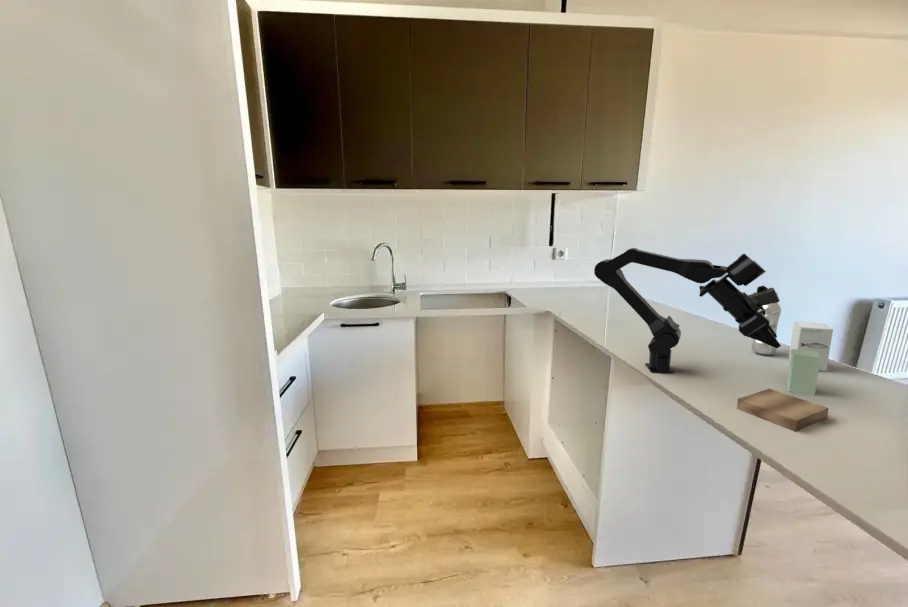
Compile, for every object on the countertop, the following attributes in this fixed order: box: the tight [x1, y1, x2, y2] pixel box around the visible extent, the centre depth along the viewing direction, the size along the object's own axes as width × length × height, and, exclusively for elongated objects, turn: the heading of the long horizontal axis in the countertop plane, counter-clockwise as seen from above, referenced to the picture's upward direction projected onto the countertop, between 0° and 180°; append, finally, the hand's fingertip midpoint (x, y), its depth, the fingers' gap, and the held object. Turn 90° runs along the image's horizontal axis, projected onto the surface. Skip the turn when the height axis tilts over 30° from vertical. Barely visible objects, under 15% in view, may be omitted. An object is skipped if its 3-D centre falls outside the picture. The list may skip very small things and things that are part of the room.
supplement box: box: [788, 320, 834, 372], centre depth 119 cm, size 7×7×13 cm
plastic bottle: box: [751, 292, 782, 356], centre depth 130 cm, size 6×7×20 cm
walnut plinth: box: [736, 388, 829, 432], centre depth 93 cm, size 12×12×2 cm
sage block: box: [786, 349, 820, 397], centre depth 104 cm, size 5×5×10 cm
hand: (777, 342), depth 106 cm, fingers open, 9 cm apart
